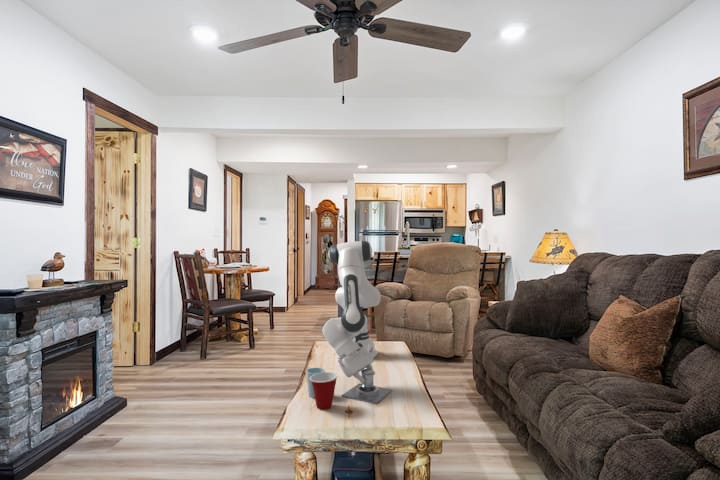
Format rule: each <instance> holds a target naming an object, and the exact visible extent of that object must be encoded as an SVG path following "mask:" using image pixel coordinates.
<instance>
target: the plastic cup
mask: <svg viewBox="0 0 720 480" xmlns="http://www.w3.org/2000/svg"><path fill="white" fill-rule="evenodd" d="M338 377H339V376H338V373H336V372H330V371H325V372H322V373H317V374H314V375H312V376H311V377H310V380H311V382H312V385H313V390H314V396H315V398H314V399H315V406H316V408H317V409H318V410H321V411H324V410H330V409H331V408H332V405H333V402H334V401H333V400H334V395H335V390H336V385H337V379H338Z"/></svg>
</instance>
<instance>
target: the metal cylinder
mask: <svg viewBox="0 0 720 480" xmlns="http://www.w3.org/2000/svg"><path fill="white" fill-rule="evenodd" d="M373 370H374V369H373ZM373 370H372V369H367V368H364V369H363V370H361V371H360V373H361V376H362V377H364V378H365V381H364V382H363V383H361V384H362V391H365V392H370V391H373V385H374V375H373V374H374V372H375V370H374V371H373Z"/></svg>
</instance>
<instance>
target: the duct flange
mask: <svg viewBox="0 0 720 480" xmlns="http://www.w3.org/2000/svg"><path fill="white" fill-rule="evenodd" d="M392 392H393V389H392V388H387V387H381V386H377V385H374V384H373V391H370V392H365V391H362V383H361V382H360V383H357V384H356V385H355V386H353V387H352V388H350V389H349V390H348V391H346V392H344V393H343V394H341V398H346V399H350V400H355V401H359V402H365V403H369V404H374V405H375V404H376V405H377V404H379V403H380V402H381V401H382V400H383V399H385V398H386V397H387V396H388V395H390V394H391V393H392Z"/></svg>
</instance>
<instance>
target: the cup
mask: <svg viewBox="0 0 720 480" xmlns="http://www.w3.org/2000/svg"><path fill="white" fill-rule="evenodd" d="M305 371H306V379H307V380H306V381H307V390H308V391H307V392H308V397H309V398H312V399H315V396H314V390H313V385H312V382H311V380H310V377H311V376H312V375H314V374H317V373H322V372H326V370H325V368H322V367H310V368H308V369H306V370H305Z"/></svg>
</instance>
